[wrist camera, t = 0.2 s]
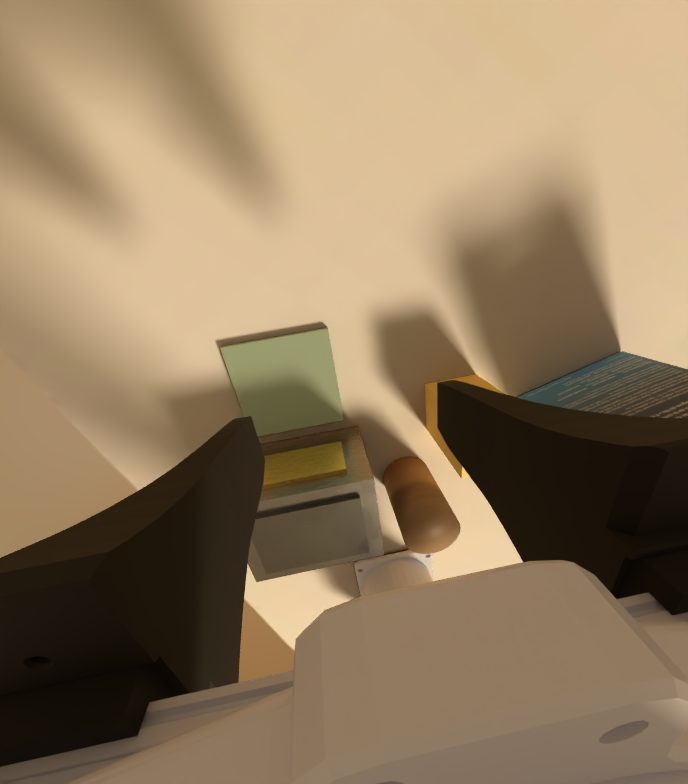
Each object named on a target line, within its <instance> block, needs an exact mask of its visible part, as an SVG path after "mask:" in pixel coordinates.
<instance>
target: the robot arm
mask: <svg viewBox="0 0 688 784" xmlns="http://www.w3.org/2000/svg"><path fill="white" fill-rule="evenodd" d="M437 428H438V430H439V432H440V433H441V435H442V437H443V439H444V441H445V443H446V445H447V446H448V448H449V449H450V451H451V452H452V453H453V455H454V456H455V457H456V459H457V460H458V462H459V463H460V464H461V465H462V467H463V468H464V469H465V471H466V472H467V473H468V475H469V476H470V477H471V479H472V480H473V481H474V483H475V484H476V485H477V487H478V488H479V489H480V490H481V492H482V493H483V495H484V496H485V498H486V499H487V500H488V502H489V504H490V505H491V507H492V509H493V510H494V512H495V514H496V515H497V517H498V518H499V520H500V522H501V523H502V525H503V527H504V529H505V530H506V532H507V534H508V536H509V537H510V539H511V541H512V543H513V544H514V546H515V548H516V550H517V552H518V553H519V555H520V557H521V559H522V561H523V563H518V564H513V565H509V566H504V567H499V568H494V569H490V570H485V571H480V572H476V573H471V574H466V575H461V576H457V577H452V578H447V579H442V580H438V581H433V553H431V554H419V553H415V552H413V551H411V550H407V551H403V552H398V553H393V554H388V555H384V556H379V557H374V558H370V559H365V560H360V561H357V562H356V563H355V564H354V566H355V571H356V576H357V581H358V586H359V590H360V595H361V597H358V598H355V599H353V600H350V601H348V602H345V603H342V604H340V605H337V606H335V607H332V608H329V609H327V610H325V611H324V612H322V613H321V614H320V615H319V616H318V617H317V618H316V619H315V620H314V621H313V622H312V623H311V624H310V625H309V626H308V627H307V628H306V629H305V630H304V631H303V632H302V633H301V634H300V635H299V636H298V637H297V638H296V643H295V654H294V670H293V671H289V672H284V673H280V674H275V675H271V676H266V677H262V678H258V679H253V680H248V681H243V682H239V683H238V677H239V657H240V642H241V641H240V640H241V628H242V613H243V603H244V592H245V581H246V572H247V564H248V555H249V548H250V542H251V537H252V532H253V528H254V523H255V519H256V514H257V510H258V506H259V501H260V497H261V492H262V487H263V482H264V470H265V458H264V454H263V451H262V448H261V445H260V442H259V439H258V436H257V433H256V430H255V426H254V423H253V420H252V417H251V416H248V417H242V418H237V419H234V420H232V421H231V422H230V423H228V424H227V425H226V426H224V427H223V428H222V429H221V430H220V431H219V432H217V433H216V434H215V435H214V436H213V437H211V438H210V439H209V440H208V441H207V442H206V443H204V444H203V445H202V446H201V447H200V448H198V449H197V450H196V451H195V452H193V453H192V454H191V455H189V456H188V457H187V458H186V459H184V460H183V461H182V462H180V463H179V464H178V465H177V466H175V467H174V468H172V469H171V470H170V471H168V472H167V473H165V474H164V475H162V476H161V477H159V478H158V479H156V480H155V481H153V482H152V483H150V484H149V485H147V486H146V487H144V488H142V489H141V490H139V491H137V492H135V493H134V494H132V495H130V496H128V497H127V498H125V499H123V500H121V501H120V502H118V503H116V504H115V505H113V506H111V507H109V508H108V509H106V510H104V511H102V512H100V513H98V514H96V515H94V516H92V517H90V518H88V519H86V520H85V521H82V522H80V523H78V524H76V525H74V526H72V527H70V528H68V529H66V530H63V531H61V532H59V533H57V534H55V535H52V536H50V537H48V538H46V539H43V540H41V541H39V542H36V543H34V544H32V545H30V546H27V547H25V548H22V549H20V550H18V551H15V552H13V553H11V554H8V555H6V556H4V557H1V558H0V784H688V418H658V417H641V416H626V415H615V414H605V413H597V412H589V411H581V410H574V409H568V408H562V407H557V406H551V405H546V404H541V403H537V402H532V401H528V400H524V399H520V398H516V397H513V396H509V395H505V394H502V393H499V392H495V391H492V390H489V389H485V388H482V387H479V386H476V385H472V384H469V383H465V382H461V381H457V380H449V381H443V382H438V383H437Z"/></svg>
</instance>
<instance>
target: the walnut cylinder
mask: <svg viewBox="0 0 688 784" xmlns="http://www.w3.org/2000/svg"><path fill="white" fill-rule="evenodd" d="M383 481H384V484H385V487H386V490H387V493H388V496H389V499H390V502H391V505H392V507H393V510H394V513H395V516H396V519H397V522H398V525H399V528H400V531H401V534H402V536H403V539H404V542H405V545H406V546H407V548H408V549H409V550H411V551H413V552H415V553H419V554H431V553H435V552H439V551H441V550H443V549H445V548H447V547H448V546H450V545H451V544H452V543H453V542H454V541H455V540H456V539H457V537H458V535H459V533H460V523H459V521H458V520H457V518H456V516H455V514H454V513H453V511H452V509H451V507H450V506H449V504H448V502H447V500H446V499H445V497H444V495H443V494H442V492H441V490H440V488H439V487H438V485H437V483H436V481H435V480H434V478H433V476H432V474H431V473H430V471H429V469H428V468H427V466H426V464H425V463H424V462H423V461H422V460H420V459H418V458H415V457H404V458H401V459H398V460H396V461H394V462H393V463H392V464H390V465H389V466H388V468H387V469H386V470H385V473H384V476H383Z"/></svg>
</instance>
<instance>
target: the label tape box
mask: <svg viewBox="0 0 688 784" xmlns="http://www.w3.org/2000/svg"><path fill="white" fill-rule="evenodd" d="M517 398H520V399H524V400H528V401H532V402H537V403H541V404H546V405H551V406H557V407H562V408H568V409H574V410H581V411H589V412H597V413H605V414H615V415H626V416H641V417H658V418H688V370H687V369H684V368H680V367H677V366H673V365H670V364H666V363H662V362H659V361H655V360H651V359H648V358H644V357H641V356H637V355H634V354H630V353H627V352H623V351H622V352H619V353H616V354H614V355H612V356H610V357H607V358H605V359H603V360H601V361H599V362H596V363H594V364H592V365H590V366H587V367H585V368H583V369H580V370H578V371H576V372H574V373H571V374H569V375H567V376H564V377H562V378H560V379H558V380H555V381H553V382H551V383H548V384H546V385H544V386H542V387H539V388H537V389H535V390H532V391H530V392H528V393H526V394H523V395H521V396H519V397H517Z"/></svg>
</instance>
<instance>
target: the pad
mask: <svg viewBox="0 0 688 784" xmlns="http://www.w3.org/2000/svg"><path fill="white" fill-rule="evenodd" d="M220 349H221V352H222V355H223V358H224V361H225V364H226V367H227V369H228V372H229V375H230V378H231V381H232V384H233V387H234V390H235V392H236V395H237V398H238V401H239V404H240V407H241V410H242V412H243V415H244V417H248V416H251V417H252V420H253V423H254V426H255V430H256V433H257V436H258V437H259V436H264V435H269V434H275V433H280V432H285V431H290V430H295V429H301V428H306V427H311V426H316V425H321V424H327V423H332V422H337V421H342V420H344V418H343V412H342V407H341V401H340V395H339V390H338V384H337V378H336V373H335V367H334V361H333V356H332V350H331V344H330V339H329V333H328V328H321V329H316V330H310V331H304V332H299V333H293V334H288V335H282V336H277V337H271V338H265V339H260V340H254V341H249V342H243V343H237V344H232V345H226V346H221V348H220Z"/></svg>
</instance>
